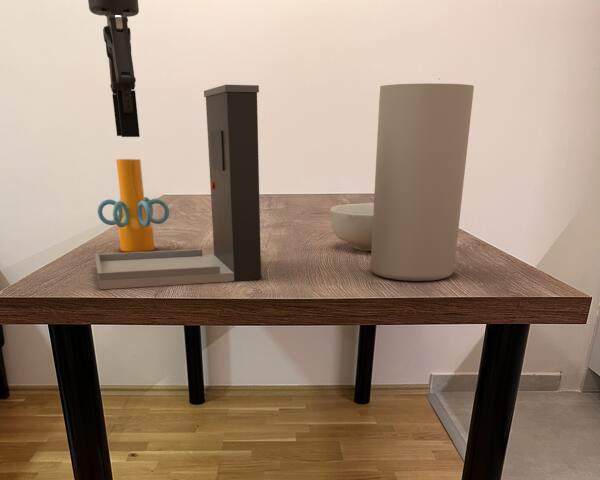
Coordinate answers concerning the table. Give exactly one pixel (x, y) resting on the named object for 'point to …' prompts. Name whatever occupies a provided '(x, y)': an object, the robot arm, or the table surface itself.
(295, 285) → the table surface
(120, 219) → the cylinder
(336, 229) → the cereal bowl
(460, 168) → the cylinder vase
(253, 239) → the grey l-shaped stand
